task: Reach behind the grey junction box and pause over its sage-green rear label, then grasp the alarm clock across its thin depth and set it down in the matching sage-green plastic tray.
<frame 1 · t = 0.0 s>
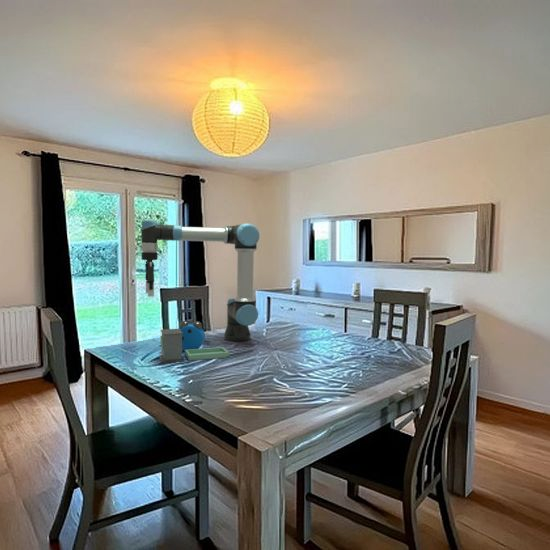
hand: (149, 294, 202), 28 cm above the table, fingers open, 13 cm apart
alarm clock: (190, 351, 205), on the table
green tray: (206, 356, 196), on the table
junction box: (171, 358, 190), on the table
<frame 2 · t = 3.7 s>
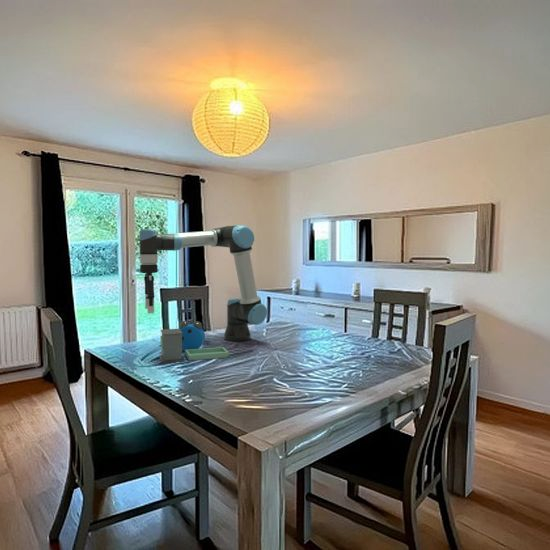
hand: (149, 310, 185), 23 cm above the table, fingers open, 13 cm apart
nothing on the table moved.
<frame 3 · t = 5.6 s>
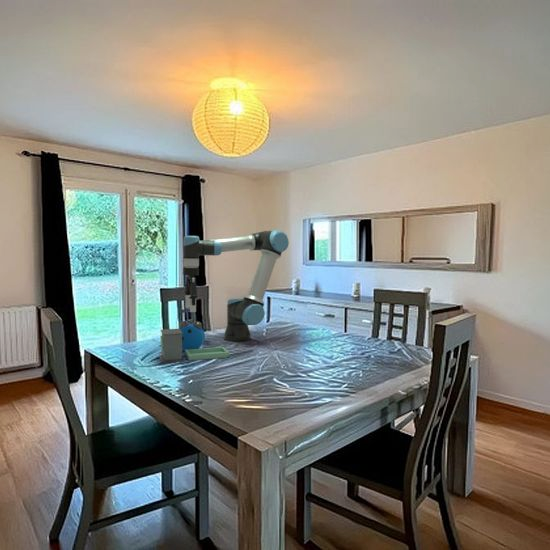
hand: (190, 309, 204), 21 cm above the table, fingers open, 13 cm apart
nothing on the table moved.
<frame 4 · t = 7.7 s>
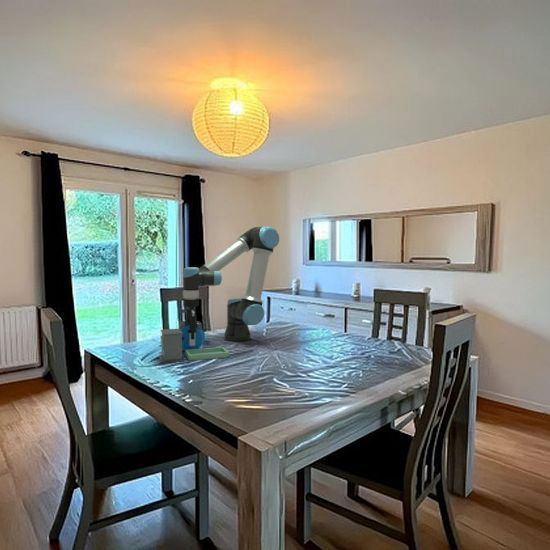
hand: (190, 343, 205), 4 cm above the table, fingers closed on alarm clock, 8 cm apart
alarm clock: (190, 351, 205), on the table, touching gripper
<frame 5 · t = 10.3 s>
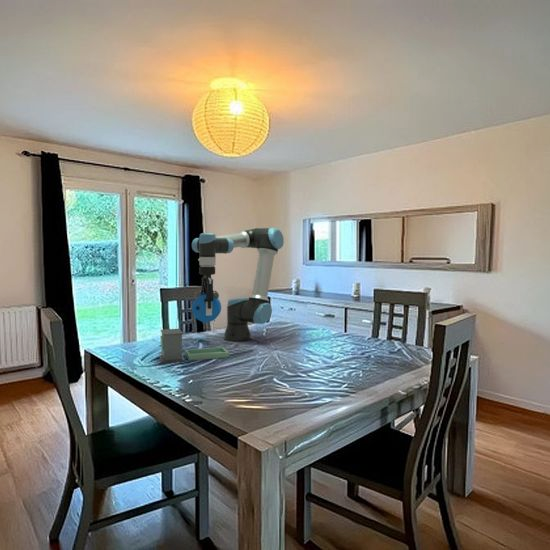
hand: (207, 313, 195), 20 cm above the table, fingers closed on alarm clock, 8 cm apart
alarm clock: (206, 322, 195), point 16 cm above the table, touching gripper
when the fingers open (5 cm above the table, at t = 13.4 s): alarm clock stays where it is, resting on green tray.
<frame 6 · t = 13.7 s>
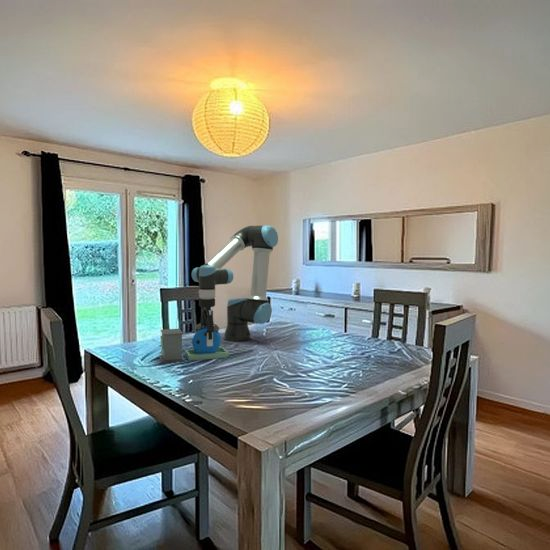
hand: (206, 343, 196), 6 cm above the table, fingers open, 12 cm apart
alarm clock: (206, 355, 196), resting on green tray
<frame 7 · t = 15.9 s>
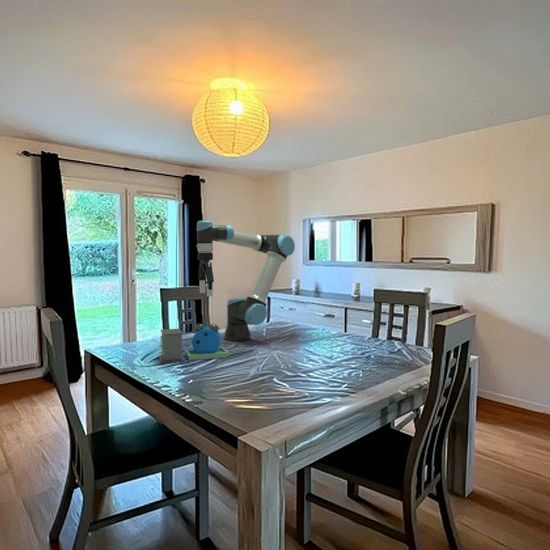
hand: (206, 294, 205), 28 cm above the table, fingers open, 13 cm apart
nothing on the table moved.
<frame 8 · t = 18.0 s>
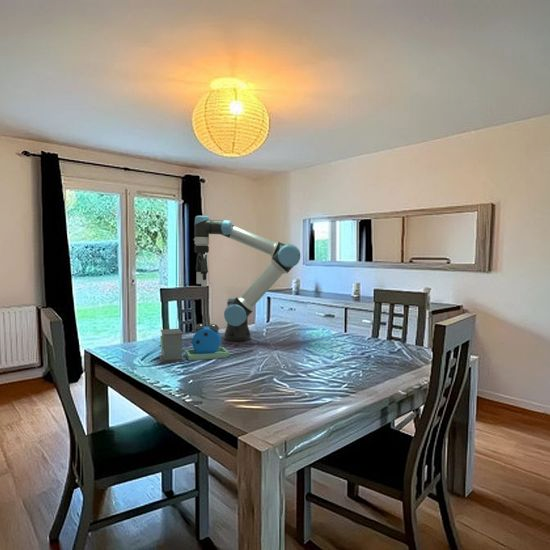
hand: (201, 285, 219), 32 cm above the table, fingers open, 13 cm apart
nothing on the table moved.
at the end: alarm clock inside the target area on the green tray (0.1 cm from its centre), point 0.4 cm above the green tray's base; alarm clock tilted 0°; the gripper is holding nothing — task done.
